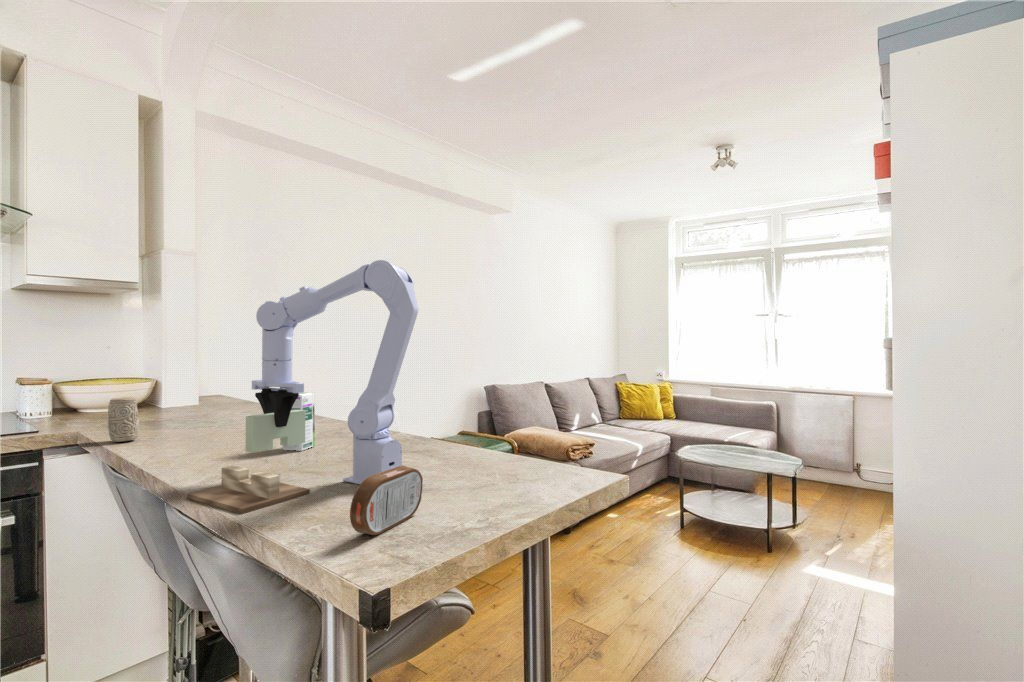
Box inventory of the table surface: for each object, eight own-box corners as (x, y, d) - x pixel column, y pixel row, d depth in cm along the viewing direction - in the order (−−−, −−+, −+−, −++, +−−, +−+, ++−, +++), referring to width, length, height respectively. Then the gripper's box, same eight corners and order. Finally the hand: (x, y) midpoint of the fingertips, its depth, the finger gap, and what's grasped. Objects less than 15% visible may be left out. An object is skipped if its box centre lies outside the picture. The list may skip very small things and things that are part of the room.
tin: (410, 509, 85) (410, 459, 85) (426, 512, 83) (426, 461, 83) (347, 541, 71) (348, 481, 71) (365, 545, 70) (365, 484, 70)
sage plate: (297, 441, 111) (298, 409, 111) (305, 442, 109) (305, 410, 109) (245, 451, 100) (245, 416, 100) (252, 452, 99) (253, 417, 99)
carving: (120, 439, 142) (121, 396, 142) (145, 439, 141) (146, 397, 141) (100, 443, 136) (101, 399, 136) (126, 444, 135) (127, 399, 135)
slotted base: (309, 493, 93) (309, 469, 93) (241, 513, 82) (242, 486, 82) (255, 481, 101) (255, 459, 101) (187, 498, 89) (187, 473, 89)
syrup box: (301, 451, 128) (302, 394, 128) (281, 450, 129) (281, 393, 129) (315, 447, 134) (315, 392, 134) (295, 446, 135) (295, 391, 135)
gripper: (238, 360, 105) (237, 425, 105) (282, 362, 98) (281, 432, 98) (269, 359, 111) (268, 421, 111) (312, 361, 104) (312, 426, 104)
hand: (276, 425), depth 105 cm, fingers closed on sage plate, 2 cm apart
